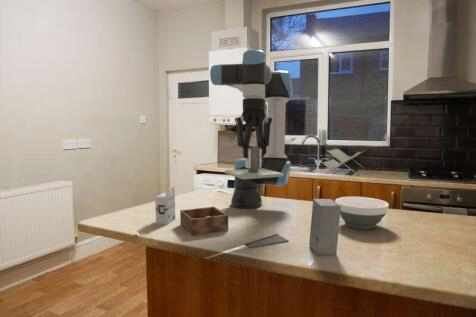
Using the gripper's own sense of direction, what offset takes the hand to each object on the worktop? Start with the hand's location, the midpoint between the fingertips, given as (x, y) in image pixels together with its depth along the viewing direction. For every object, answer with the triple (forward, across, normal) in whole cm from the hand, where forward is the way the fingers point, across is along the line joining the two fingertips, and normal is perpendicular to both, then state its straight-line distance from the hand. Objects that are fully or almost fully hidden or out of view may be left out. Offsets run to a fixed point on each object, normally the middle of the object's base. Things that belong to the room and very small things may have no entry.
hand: (253, 167), depth 114 cm
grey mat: (+25, -2, +1) cm, 25 cm away
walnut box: (+25, +13, -16) cm, 32 cm away
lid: (+3, 0, 0) cm, 3 cm away
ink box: (+25, +24, -29) cm, 45 cm away
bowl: (+25, -45, +5) cm, 51 cm away
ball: (+24, +10, -19) cm, 32 cm away
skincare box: (+25, -15, +20) cm, 35 cm away
